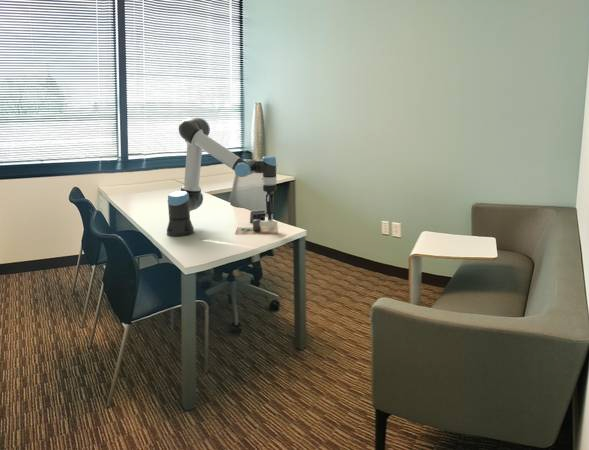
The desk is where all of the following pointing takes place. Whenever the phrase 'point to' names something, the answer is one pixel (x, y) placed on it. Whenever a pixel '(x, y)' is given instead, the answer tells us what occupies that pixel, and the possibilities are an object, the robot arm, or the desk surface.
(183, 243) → the desk surface
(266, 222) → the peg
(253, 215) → the electrical switch
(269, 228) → the board
